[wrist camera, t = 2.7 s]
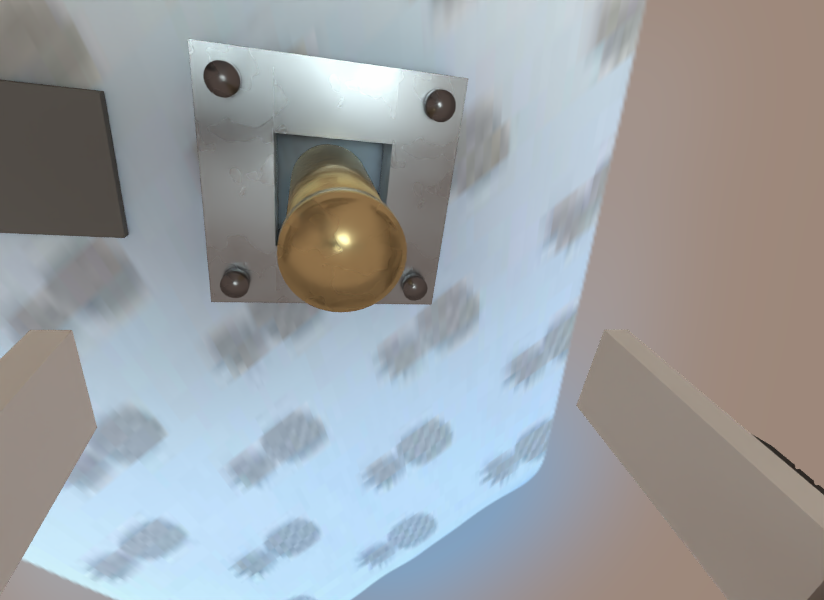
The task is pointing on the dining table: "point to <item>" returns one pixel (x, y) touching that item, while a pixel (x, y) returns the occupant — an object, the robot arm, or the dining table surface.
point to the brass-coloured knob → (338, 234)
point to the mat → (57, 163)
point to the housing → (320, 117)
